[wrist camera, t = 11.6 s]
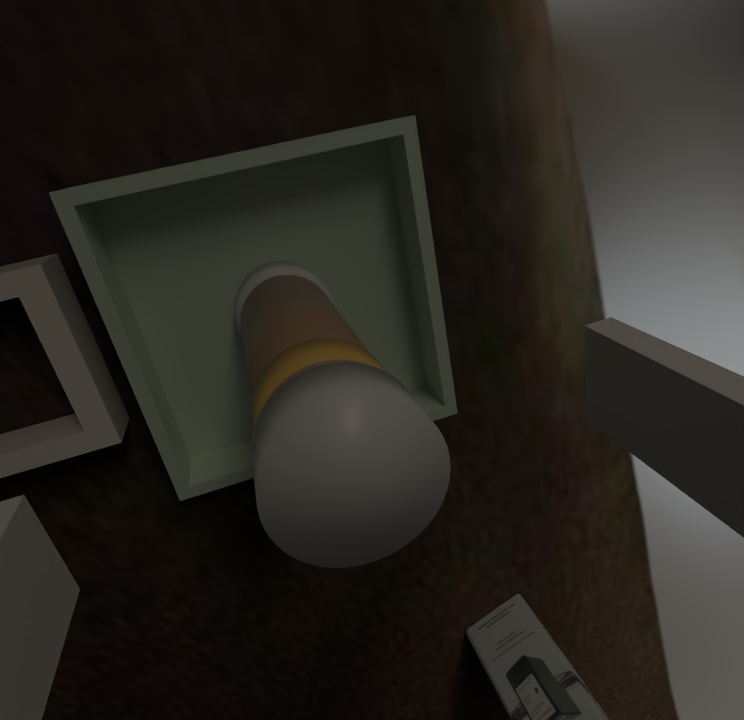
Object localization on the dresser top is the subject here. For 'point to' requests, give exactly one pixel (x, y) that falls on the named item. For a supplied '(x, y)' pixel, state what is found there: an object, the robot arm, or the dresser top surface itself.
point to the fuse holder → (61, 371)
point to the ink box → (530, 667)
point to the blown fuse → (331, 429)
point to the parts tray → (243, 255)
